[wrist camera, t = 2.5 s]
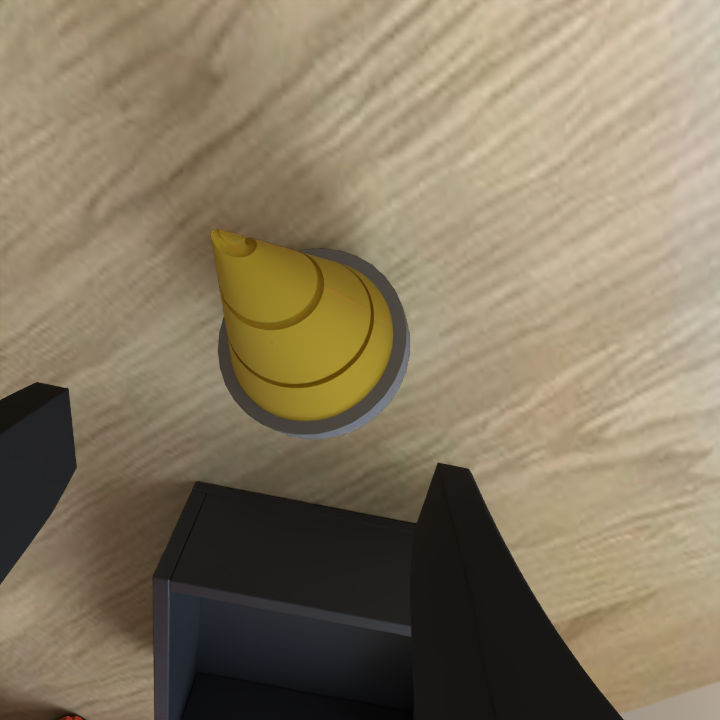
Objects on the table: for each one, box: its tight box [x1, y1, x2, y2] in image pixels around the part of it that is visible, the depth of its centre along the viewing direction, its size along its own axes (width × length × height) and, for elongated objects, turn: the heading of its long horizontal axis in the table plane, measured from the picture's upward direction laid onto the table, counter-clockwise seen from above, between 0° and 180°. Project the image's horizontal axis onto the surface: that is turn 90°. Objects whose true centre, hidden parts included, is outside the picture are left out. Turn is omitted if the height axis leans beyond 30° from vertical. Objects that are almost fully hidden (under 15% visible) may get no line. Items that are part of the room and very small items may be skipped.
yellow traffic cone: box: [211, 229, 410, 439], centre depth 15 cm, size 5×5×10 cm
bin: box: [152, 482, 416, 720], centre depth 25 cm, size 12×13×4 cm
